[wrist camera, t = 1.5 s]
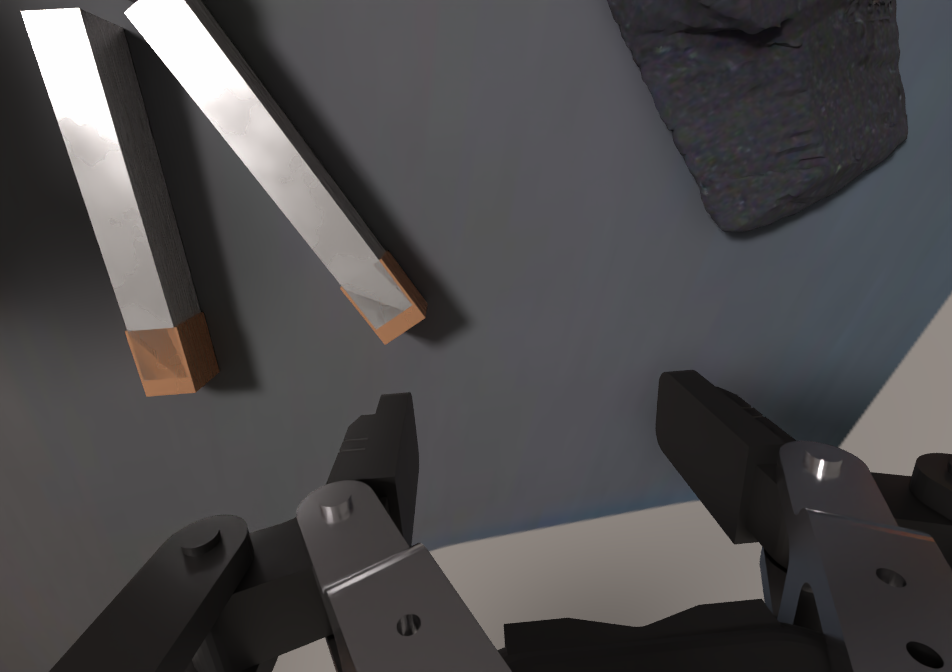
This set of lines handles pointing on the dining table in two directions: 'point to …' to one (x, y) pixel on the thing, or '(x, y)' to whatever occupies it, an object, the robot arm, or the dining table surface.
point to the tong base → (124, 194)
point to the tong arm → (280, 160)
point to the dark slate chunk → (770, 95)
